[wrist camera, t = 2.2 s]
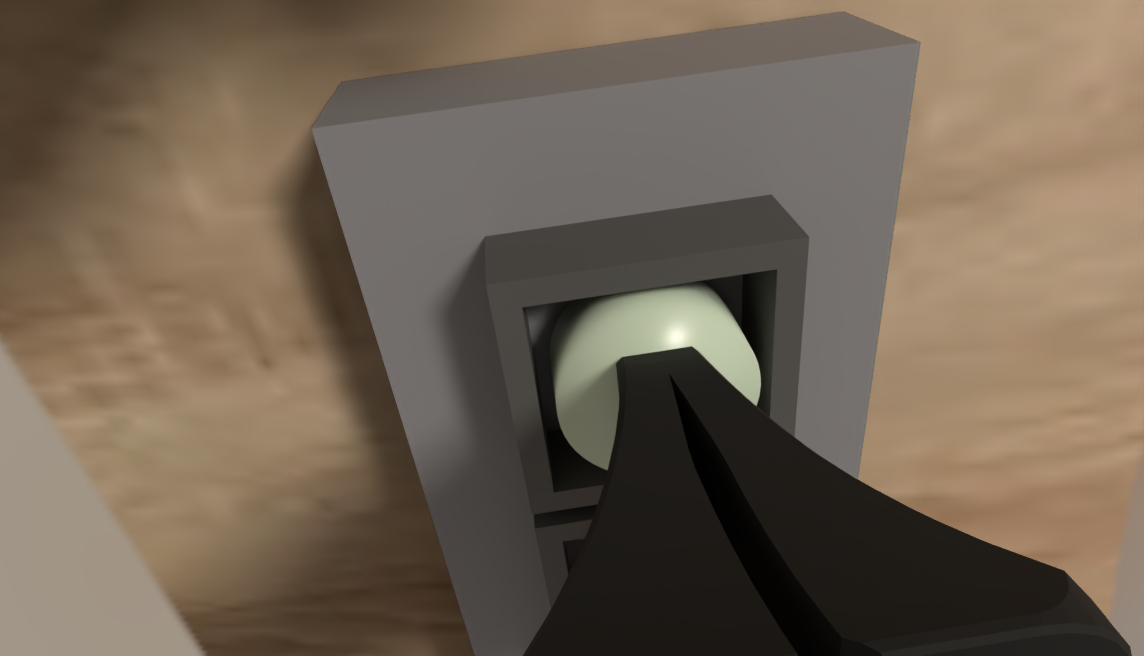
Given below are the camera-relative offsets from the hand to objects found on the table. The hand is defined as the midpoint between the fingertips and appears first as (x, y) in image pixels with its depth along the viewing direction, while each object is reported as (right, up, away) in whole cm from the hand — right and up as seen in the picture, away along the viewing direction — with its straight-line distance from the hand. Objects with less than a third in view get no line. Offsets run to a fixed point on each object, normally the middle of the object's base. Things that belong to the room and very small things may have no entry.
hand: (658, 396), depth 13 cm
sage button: (0, +1, +1) cm, 2 cm away
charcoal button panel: (0, -2, +7) cm, 8 cm away
